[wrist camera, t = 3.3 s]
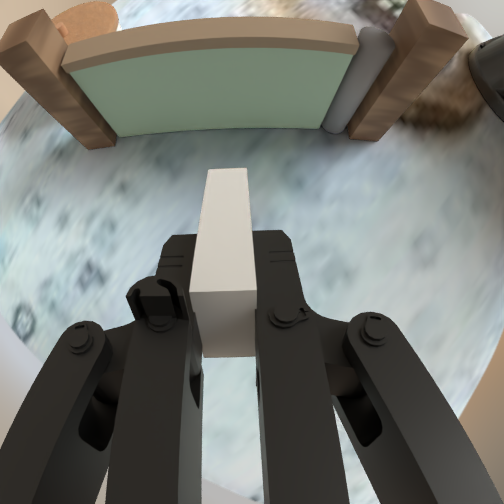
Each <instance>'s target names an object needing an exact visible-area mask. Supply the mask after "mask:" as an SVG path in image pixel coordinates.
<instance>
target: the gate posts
mask: <svg viewBox="0 0 504 504" xmlns="http://www.w3.org/2000/svg"><path fill="white" fill-rule="evenodd" d="M389 36H390V37H391V38H392V39H393V41H394V43H395V49H394V50H393V52H392V54H391V55H390V57H389V58H388V60H387V62H386V63H385V65H384V66H383V68H382V70H381V71H380V73H379V75H378V76H377V78H376V79H375V81H374V83H373V84H372V86H371V87H370V89H369V91H368V92H367V94H366V95H365V97H364V99H363V100H362V102H361V103H360V105H359V107H358V108H357V110H356V111H355V113H354V115H353V116H352V118H351V119H350V121H349V122H348V124H347V127H348V133H349V139H358V140H370V141H379V139H380V138H381V137H382V136H383V135H384V134H385V133H386V132H387V131H388V129H389V128H390V127H391V126H392V125H393V124H394V123H395V122H396V121H397V119H398V118H399V117H400V116H401V115H402V114H403V113H404V112H405V110H406V109H407V108H408V107H409V106H410V105H411V104H412V103H413V101H414V100H415V99H416V98H417V97H418V96H419V95H420V94H421V92H422V91H423V90H424V89H425V88H426V87H427V86H428V85H429V83H430V82H431V81H432V80H433V79H434V78H435V77H436V75H437V74H438V73H439V72H440V71H441V70H442V69H443V67H444V66H445V65H446V64H447V63H448V62H449V61H450V59H451V58H452V57H453V56H454V55H455V54H456V52H457V51H458V50H459V49H460V48H461V47H462V46H463V44H464V43H465V42H466V41H467V40H468V39H469V38H468V36H467V34H466V32H465V31H464V29H463V27H462V25H461V24H460V22H459V20H458V19H457V17H456V15H455V14H454V12H453V10H452V9H451V7H449V6H446V5H444V4H441V3H439V2H436V1H433V0H408V1H407V3H406V5H405V7H404V9H403V10H402V12H401V14H400V16H399V18H398V19H397V21H396V23H395V25H394V27H393V28H392V30H391V32H390V34H389ZM67 48H68V45H67V43H66V42H65V40H64V39H63V37H62V36H61V34H60V33H59V31H58V30H57V28H56V27H55V25H54V24H53V22H52V21H51V19H50V18H49V16H48V15H47V13H46V12H45V10H44V9H41V10H39V11H37V12H35V13H32V14H30V15H28V16H26V17H24V18H22V19H20V20H17V21H16V22H14V23H11V24H10V25H9V26H8V28H7V30H6V32H5V33H4V35H3V37H2V39H1V40H0V66H2V68H3V69H4V70H5V71H6V72H7V73H9V74H10V76H12V78H13V79H15V80H16V81H17V82H18V83H19V84H20V85H21V86H22V87H23V88H24V89H25V90H26V91H27V92H28V93H29V94H30V95H31V96H32V97H33V98H34V99H35V100H36V101H37V102H38V103H39V104H40V105H41V106H42V107H43V108H44V109H45V110H46V111H47V112H48V113H49V114H51V115H52V116H53V117H54V118H55V119H56V120H57V121H58V122H59V123H60V124H61V125H62V126H63V127H64V128H65V129H66V130H67V131H68V132H70V133H71V134H72V135H73V136H74V137H75V138H76V139H77V140H78V141H79V142H80V143H81V144H82V145H83V146H85V147H86V148H87V149H88V150H91V149H97V148H104V147H111V146H115V143H116V136H117V134H116V132H115V131H114V130H113V129H112V127H111V126H110V125H109V124H108V122H107V121H106V120H105V119H104V117H103V116H102V115H101V113H100V112H99V111H98V110H97V108H96V107H95V106H94V104H93V103H92V102H91V101H90V99H89V98H88V97H87V96H86V94H85V93H84V92H83V90H82V89H81V88H80V86H79V85H78V84H77V83H76V81H75V80H74V79H73V77H72V76H71V75H70V73H66V71H65V70H64V69H63V67H62V66H61V64H62V61H63V58H64V56H65V53H66V51H67Z"/></svg>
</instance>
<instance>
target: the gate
mask: <svg viewBox="0 0 504 504" xmlns="http://www.w3.org/2000/svg"><path fill="white" fill-rule="evenodd" d="M394 49H395V43H394V41H393V39H392V38H391V37H390V36H389V35H388V34H387V33H386V32H384V31H383V30H381V29H378V28H375V27H364V28H362V29H361V31H360V33H359V35H358V38H357V36H356V33H355V30H354V27H353V25H350V24H343V23H336V22H329V21H320V20H310V19H299V18H283V17H220V18H204V19H192V20H182V21H174V22H166V23H159V24H153V25H147V26H141V27H136V28H131V29H126V30H121V31H116V32H112V33H108V34H104V35H100V36H96V37H92V38H88V39H85V40H81V41H78V42H75V43H71V44H69V46H68V48H67V51H66V53H65V56H64V58H63V61H62V64H61V66H62V67H63V69H64V70H65V71H66V73H70V75H71V76H72V77H73V79H74V80H75V81H76V83H77V84H78V85H79V86H80V88H81V89H82V90H83V92H84V93H85V94H86V96H87V97H88V98H89V99H90V101H91V102H92V103H93V104H94V106H95V107H96V108H97V110H98V111H99V112H100V113H101V115H102V116H103V117H104V119H105V120H106V121H107V122H108V124H109V125H110V126H111V127H112V129H113V130H114V131H115V132H116V134H117V135H118V136H119V137H128V136H136V135H144V134H154V133H164V132H175V131H188V130H204V129H226V128H305V129H319V127H320V125H321V124H322V126H323V128H324V129H325V130H326V131H328V132H330V133H333V134H338V133H341V132H342V131H343V130H344V129H345V127H346V126H347V124H348V122H349V121H350V119H351V118H352V116H353V115H354V113H355V111H356V110H357V108H358V107H359V105H360V103H361V102H362V100H363V99H364V97H365V95H366V94H367V92H368V91H369V89H370V87H371V86H372V84H373V83H374V81H375V79H376V78H377V76H378V75H379V73H380V71H381V70H382V68H383V66H384V65H385V63H386V62H387V60H388V58H389V57H390V55H391V54H392V52H393V50H394Z"/></svg>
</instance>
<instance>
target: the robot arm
mask: <svg viewBox="0 0 504 504" xmlns="http://www.w3.org/2000/svg"><path fill="white" fill-rule="evenodd" d="M469 67H470V71H471V74H472V76H473V79H474V81H475V83H476V85H477V87H478V88H479V90H480V92H481V93H482V95H483V97H484V98H485V100H486V101H487V102H488V104H489V105H490V106H491V108H492V109H493V110H494V112H495V113H496V114H497V115H498V116H499V117H500V118H501V119H502V120H503V121H504V34H503V35H501V36H498V37H495V38H493V39H490V40H488V41H486V42H483V43H480V44H479V45H477V46H476V47H475V48H474V50H473V51H472V52H471V53H470V55H469ZM126 298H127V301H128V303H129V306H130V308H131V311H132V313H133V316H134V318H135V321H133V322H131V323H129V324H127V325H124V326H121V327H117V328H113V329H109V330H105V331H103V329H102V328H101V326H100V325H99V324H97V323H95V322H93V321H82V322H78V323H75V324H73V325H72V326H70V327H68V328H67V329H66V331H65V332H64V333H63V334H62V335H61V337H60V338H59V340H58V342H57V343H56V345H55V346H54V348H53V350H52V351H51V353H50V355H49V356H48V358H47V360H46V362H45V363H44V365H43V367H42V368H41V370H40V372H39V374H38V375H37V377H36V379H35V381H34V383H33V384H32V386H31V388H30V390H29V392H28V394H27V396H26V398H25V399H24V401H23V403H22V405H21V407H20V409H19V411H18V413H17V415H16V417H15V419H14V421H13V423H12V425H11V427H10V429H9V431H8V433H7V436H6V438H5V440H4V442H3V444H2V447H1V449H0V504H95V502H96V499H97V496H98V493H99V491H100V488H101V485H102V482H103V480H104V477H105V475H106V472H107V469H108V467H109V469H108V479H107V490H106V501H105V504H201V462H202V410H203V381H204V374H203V369H202V365H201V362H202V352H203V356H204V358H219V357H252V356H256V386H257V396H258V411H259V427H260V443H261V459H262V474H263V490H264V504H350V503H349V496H348V490H347V483H346V477H345V471H344V465H343V459H342V453H341V447H340V441H339V436H338V430H337V425H336V419H335V414H334V409H333V405H334V408H335V410H336V412H337V414H338V416H339V418H340V420H341V422H342V424H343V426H344V428H345V430H346V432H347V434H348V437H349V439H350V441H351V443H352V445H353V447H354V449H355V451H356V453H357V455H358V457H359V459H360V462H361V464H362V466H363V468H364V470H365V472H366V474H367V476H368V478H369V480H370V482H371V485H372V487H373V489H374V491H375V493H376V495H377V497H378V499H379V501H380V503H381V504H503V502H502V500H501V498H500V496H499V494H498V492H497V490H496V488H495V486H494V484H493V482H492V480H491V478H490V476H489V474H488V472H487V470H486V468H485V466H484V464H483V463H482V461H481V459H480V457H479V455H478V453H477V452H476V450H475V448H474V446H473V444H472V443H471V441H470V439H469V437H468V436H467V434H466V432H465V430H464V429H463V427H462V425H461V424H460V422H459V420H458V419H457V417H456V415H455V414H454V412H453V410H452V409H451V407H450V405H449V404H448V402H447V401H446V399H445V397H444V396H443V394H442V393H441V391H440V389H439V388H438V386H437V385H436V383H435V381H434V380H433V378H432V377H431V375H430V374H429V372H428V371H427V369H426V368H425V366H424V365H423V363H422V362H421V360H420V359H419V357H418V356H417V354H416V353H415V351H414V350H413V348H412V347H411V345H410V344H409V342H408V341H407V339H406V338H405V337H404V335H403V334H402V332H401V331H400V329H399V328H398V327H397V325H396V324H395V323H394V322H393V321H392V320H391V319H390V318H388V317H386V316H384V315H382V314H380V313H375V312H365V313H360V314H358V315H357V316H355V317H353V318H352V320H351V321H350V322H343V321H338V320H333V319H329V318H326V317H323V316H321V315H319V314H317V313H315V312H314V311H313V310H312V309H311V308H310V307H309V306H308V305H307V303H306V301H305V299H304V295H303V291H302V286H301V282H300V278H299V273H298V269H297V265H296V262H295V256H294V253H293V248H292V243H291V239H290V238H289V237H288V236H287V235H286V234H285V233H284V232H283V231H282V230H265V231H252V225H251V213H250V201H249V189H248V177H247V168H227V169H208V174H207V180H206V185H205V191H204V197H203V203H202V209H201V215H200V221H199V227H198V233H197V234H185V235H172V236H171V237H170V238H169V239H168V241H167V242H166V243H165V244H164V245H163V249H162V252H161V256H160V260H159V263H158V268H157V271H156V275H155V276H149V277H146V278H144V279H142V280H140V281H138V282H136V283H135V284H134V285H133V286H132V287H131V288H130V289H129V291H128V293H127V295H126ZM332 403H333V404H332Z"/></svg>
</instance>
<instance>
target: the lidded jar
mask: <svg viewBox="0 0 504 504" xmlns="http://www.w3.org/2000/svg"><path fill="white" fill-rule="evenodd" d="M51 21H52V22H53V24H54V25H55V27H56V28H57V30H58V31H59V33H60V34H61V36H62V37H63V39H64V40H65V42H66V43H67V45H68V46H69V44H71V43H75V42H78V41H81V40H85V39H88V38H92V37H96V36H100V35H104V34H108V33H112V32H116V31H121V30H122V28H121V25H120V22H119V19H118V15H117V12H116V10H115V9H114V7H113V6H112V5H110V4H108V3H106V2H98V1H96V2H95V1H94V2H88V3H83V4H80V5H77V6H75V7H72V8H70V9H68V10H66V11H64V12H62V13H61V14H59V15H57V16H56V17H55V18H53V19H52V20H51Z"/></svg>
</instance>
